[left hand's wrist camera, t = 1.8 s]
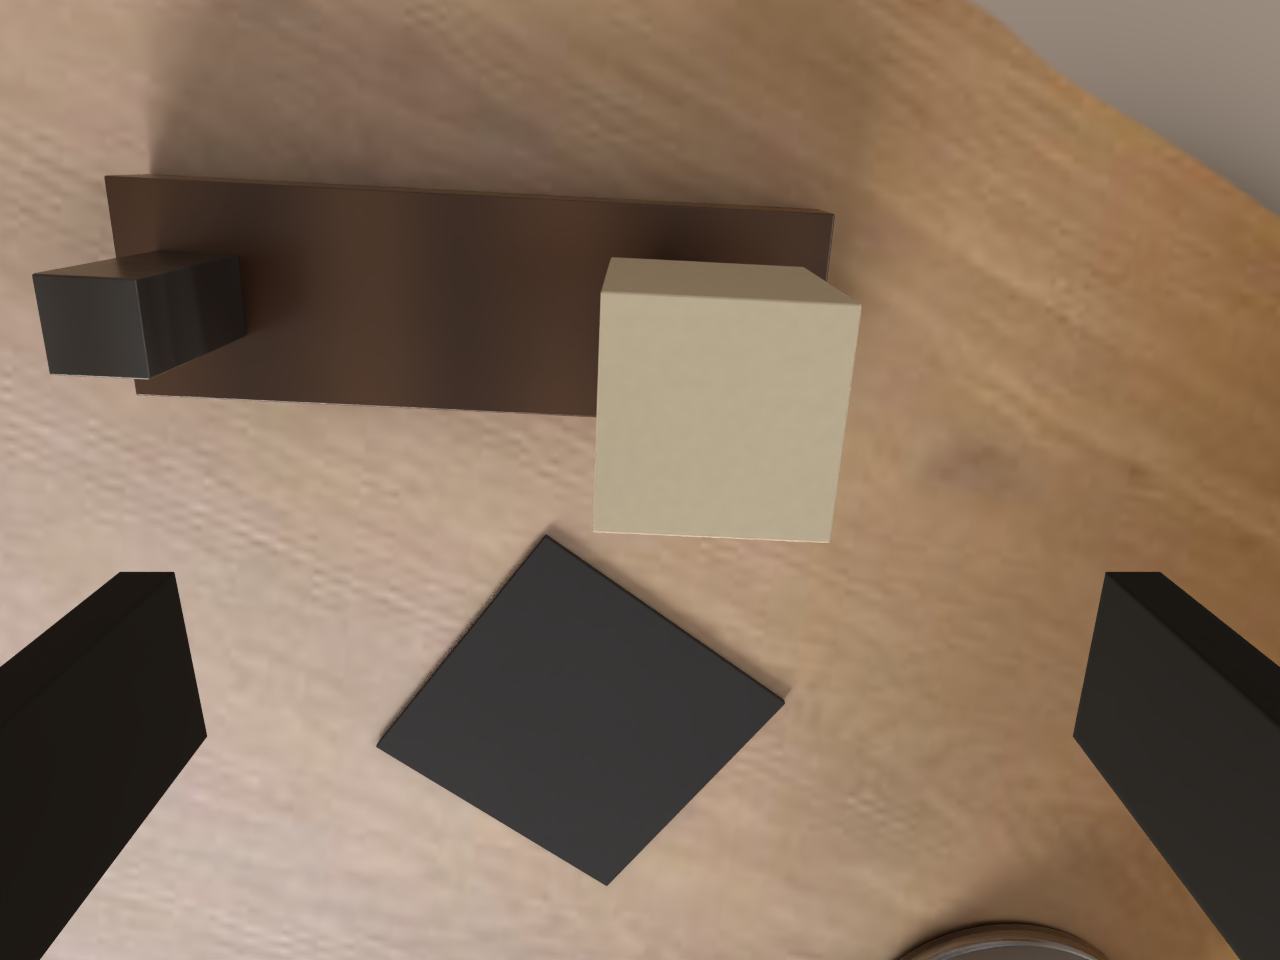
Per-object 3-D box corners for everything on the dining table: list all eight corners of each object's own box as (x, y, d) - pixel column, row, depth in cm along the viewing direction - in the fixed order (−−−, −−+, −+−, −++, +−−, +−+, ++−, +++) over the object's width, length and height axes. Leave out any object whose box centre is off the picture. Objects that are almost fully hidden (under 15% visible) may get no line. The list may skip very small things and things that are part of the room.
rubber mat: (784, 699, 42) (785, 703, 42) (607, 881, 46) (606, 886, 46) (546, 534, 39) (545, 536, 39) (377, 743, 43) (375, 746, 43)
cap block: (804, 266, 25) (863, 303, 19) (784, 451, 27) (830, 543, 21) (610, 256, 25) (600, 290, 19) (603, 443, 27) (592, 533, 21)
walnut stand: (819, 209, 34) (886, 227, 25) (796, 407, 37) (850, 491, 28) (147, 174, 34) (-41, 179, 25) (174, 377, 37) (14, 452, 27)
